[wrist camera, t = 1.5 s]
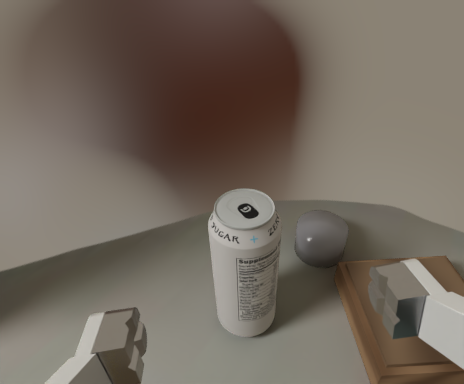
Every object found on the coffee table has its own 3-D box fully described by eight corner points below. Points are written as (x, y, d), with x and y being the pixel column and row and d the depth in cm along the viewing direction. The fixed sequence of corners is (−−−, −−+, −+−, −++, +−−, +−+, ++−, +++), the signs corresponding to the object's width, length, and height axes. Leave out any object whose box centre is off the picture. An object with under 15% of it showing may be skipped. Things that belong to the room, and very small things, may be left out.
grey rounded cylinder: (285, 253, 42) (288, 230, 40) (307, 226, 46) (311, 204, 43) (330, 276, 39) (335, 253, 37) (350, 245, 43) (356, 222, 40)
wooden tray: (373, 391, 29) (383, 372, 27) (334, 279, 38) (338, 258, 36) (509, 382, 29) (529, 363, 27) (436, 273, 39) (447, 252, 36)
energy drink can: (253, 282, 38) (253, 176, 29) (286, 322, 34) (299, 213, 25) (207, 307, 36) (192, 200, 27) (237, 353, 32) (232, 245, 23)
